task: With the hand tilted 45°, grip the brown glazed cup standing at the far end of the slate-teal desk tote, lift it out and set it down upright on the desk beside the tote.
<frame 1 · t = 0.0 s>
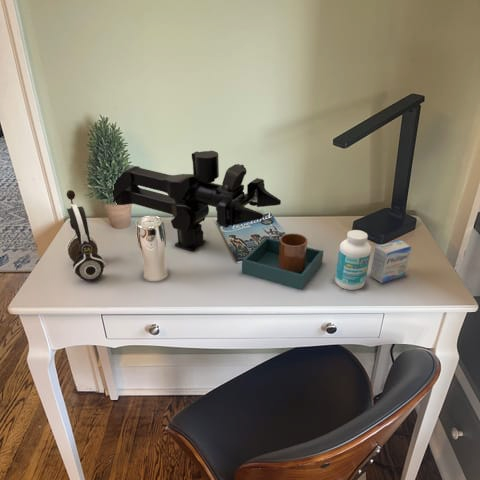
hand: (271, 209, 120), 17 cm above the table, tool horizontal, fingers open, 9 cm apart
tote: (282, 268, 129), on the table
headset: (88, 271, 129), on the table
cup: (291, 270, 128), resting on tote
pill bottle: (349, 283, 124), on the table
medicine box: (387, 276, 126), on the table
beer glass: (155, 275, 127), on the table
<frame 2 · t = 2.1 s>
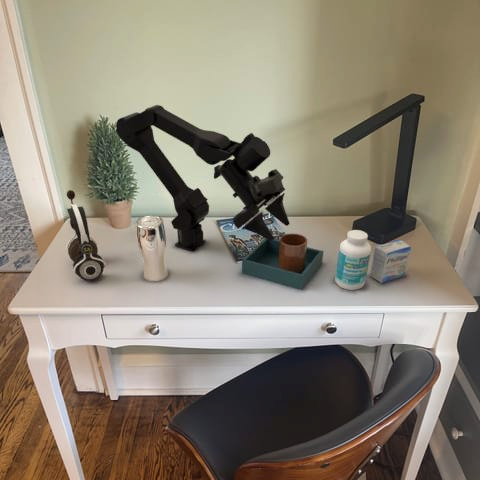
hand: (280, 232, 123), 10 cm above the table, tool tilted 45°, fingers open, 9 cm apart
nothing on the table moved.
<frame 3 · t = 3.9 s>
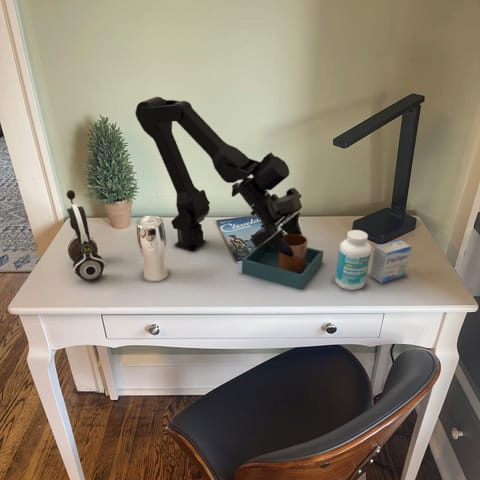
hand: (298, 249, 124), 7 cm above the table, tool tilted 45°, fingers closed on cup, 7 cm apart
cup: (291, 270, 128), resting on tote, touching gripper
everything else where it was.
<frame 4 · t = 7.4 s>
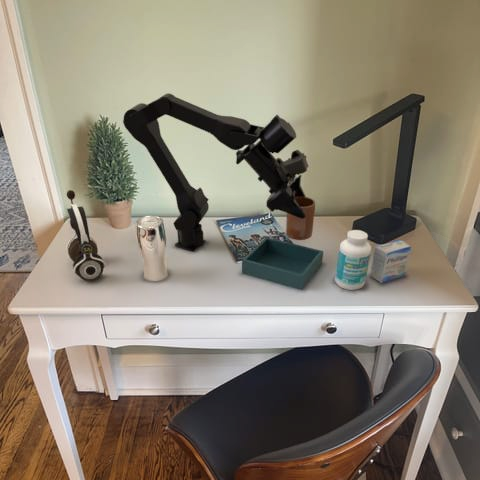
hand: (306, 211, 126), 13 cm above the table, tool tilted 45°, fingers closed on cup, 7 cm apart
cup: (298, 234, 130), point 7 cm above the table, touching gripper
everything else where it was.
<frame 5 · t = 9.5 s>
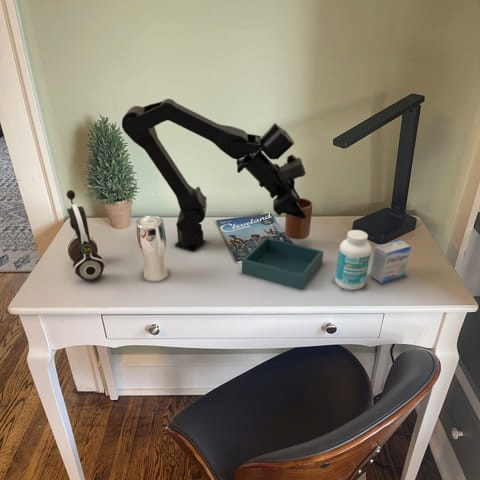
hand: (303, 211, 133), 10 cm above the table, tool tilted 45°, fingers closed on cup, 7 cm apart
cup: (297, 233, 137), point 4 cm above the table, touching gripper
everything else where it was.
when the fingers open (7 cm above the table, at t = 11.2 s): cup stays where it is, on the table.
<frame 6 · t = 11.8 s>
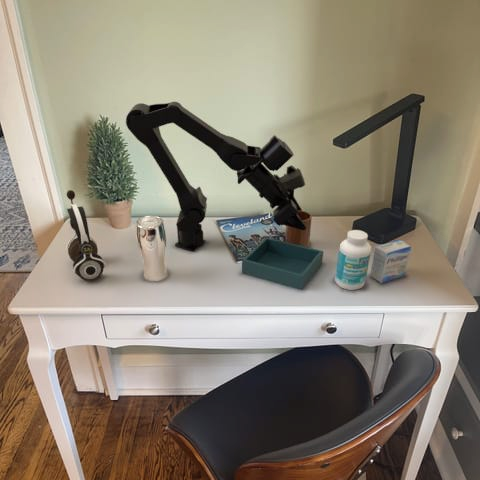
hand: (303, 221, 135), 7 cm above the table, tool tilted 45°, fingers open, 9 cm apart
cup: (296, 245, 140), on the table
everything else where it was.
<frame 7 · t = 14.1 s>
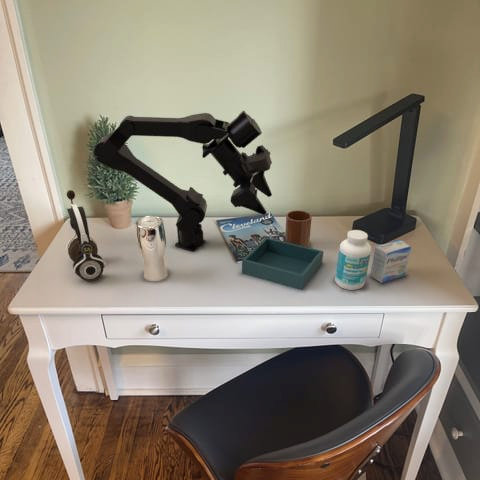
hand: (268, 204, 132), 12 cm above the table, tool tilted 40°, fingers open, 9 cm apart
nothing on the table moved.
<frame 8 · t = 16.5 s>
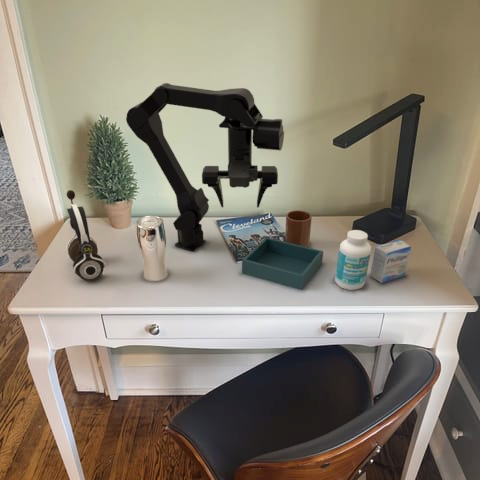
hand: (240, 206, 129), 13 cm above the table, tool pointing down, fingers open, 9 cm apart
nothing on the table moved.
at the end: cup inside the target area (0.0 cm from its centre), on the table; cup tilted 0°; the gripper is holding nothing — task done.
